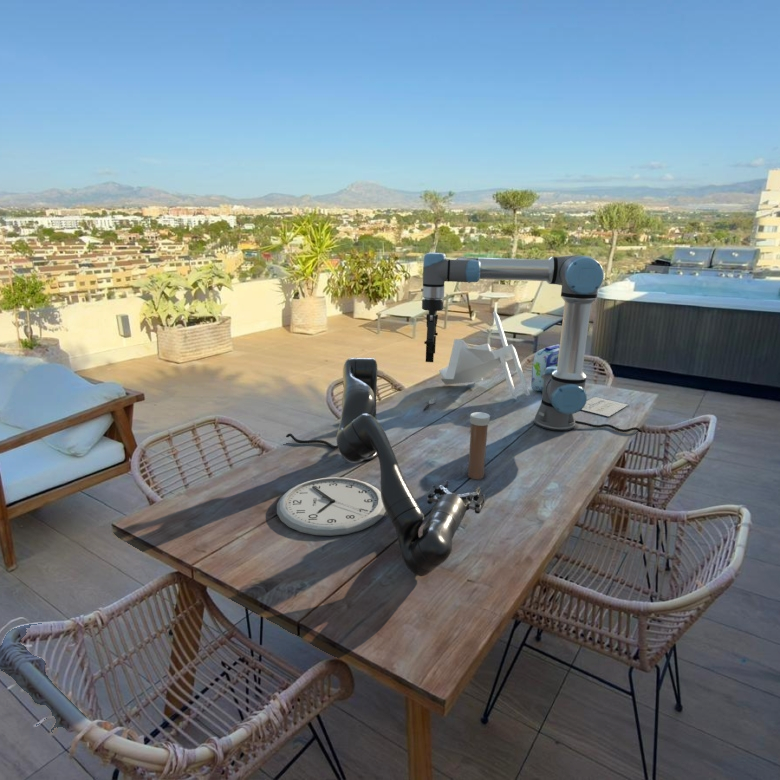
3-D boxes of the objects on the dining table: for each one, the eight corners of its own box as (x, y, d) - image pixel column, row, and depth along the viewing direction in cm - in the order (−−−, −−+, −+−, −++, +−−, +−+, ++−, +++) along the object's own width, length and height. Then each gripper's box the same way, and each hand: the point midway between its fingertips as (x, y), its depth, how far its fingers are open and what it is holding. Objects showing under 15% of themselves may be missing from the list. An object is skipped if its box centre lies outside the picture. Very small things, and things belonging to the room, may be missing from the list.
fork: (420, 411, 216) (420, 406, 216) (430, 400, 230) (431, 395, 230) (426, 412, 215) (426, 407, 215) (436, 401, 230) (436, 396, 229)
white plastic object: (461, 429, 252) (437, 405, 227) (444, 352, 274) (420, 323, 250) (535, 404, 240) (518, 377, 215) (510, 326, 262) (492, 293, 237)
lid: (492, 425, 154) (493, 417, 154) (474, 426, 153) (475, 419, 152) (484, 418, 159) (484, 411, 159) (467, 419, 158) (467, 412, 157)
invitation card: (608, 416, 214) (573, 407, 224) (608, 416, 214) (573, 408, 224) (628, 404, 229) (594, 396, 238) (628, 405, 229) (594, 397, 238)
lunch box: (547, 397, 237) (552, 352, 231) (526, 391, 245) (531, 348, 238) (574, 386, 255) (580, 344, 249) (554, 381, 262) (559, 340, 256)
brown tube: (486, 478, 160) (491, 418, 154) (471, 480, 159) (475, 420, 153) (479, 471, 164) (484, 413, 158) (465, 473, 163) (469, 414, 157)
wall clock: (392, 527, 129) (268, 531, 127) (391, 533, 130) (269, 537, 127) (383, 473, 158) (282, 475, 155) (383, 478, 158) (282, 480, 156)
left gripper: (418, 523, 131) (436, 493, 145) (474, 535, 126) (487, 503, 141) (419, 496, 129) (437, 469, 143) (476, 507, 124) (489, 478, 138)
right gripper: (424, 293, 195) (422, 349, 202) (419, 302, 172) (417, 365, 178) (444, 294, 194) (442, 350, 201) (442, 303, 171) (439, 366, 177)
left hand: (462, 486), depth 142 cm, fingers open, 8 cm apart
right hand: (430, 357), depth 189 cm, fingers open, 13 cm apart
